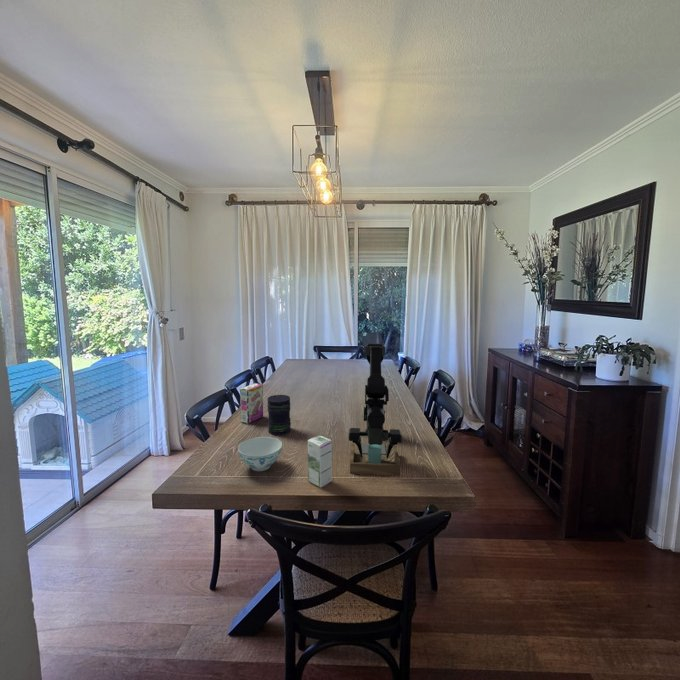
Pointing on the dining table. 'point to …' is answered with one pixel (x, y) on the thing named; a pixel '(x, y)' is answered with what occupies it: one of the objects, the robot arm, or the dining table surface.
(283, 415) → the storage jar
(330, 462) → the syrup box
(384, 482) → the dining table surface
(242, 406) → the candy bar box
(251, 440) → the chinaware
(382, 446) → the grey rubber mat
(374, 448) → the teal block
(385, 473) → the walnut crate
